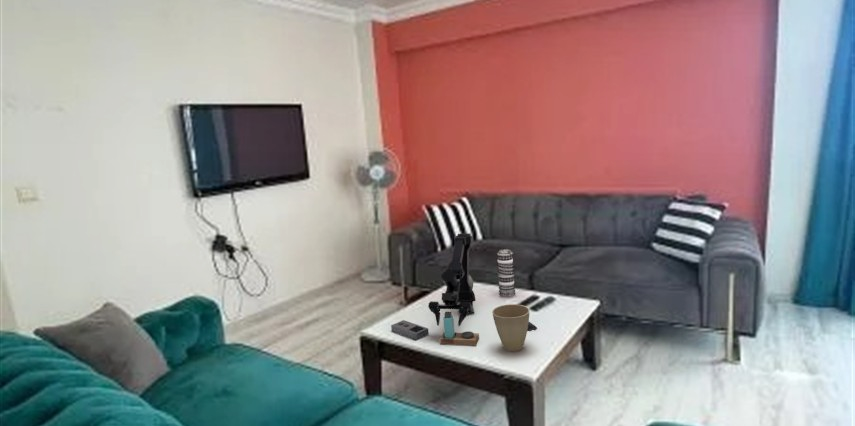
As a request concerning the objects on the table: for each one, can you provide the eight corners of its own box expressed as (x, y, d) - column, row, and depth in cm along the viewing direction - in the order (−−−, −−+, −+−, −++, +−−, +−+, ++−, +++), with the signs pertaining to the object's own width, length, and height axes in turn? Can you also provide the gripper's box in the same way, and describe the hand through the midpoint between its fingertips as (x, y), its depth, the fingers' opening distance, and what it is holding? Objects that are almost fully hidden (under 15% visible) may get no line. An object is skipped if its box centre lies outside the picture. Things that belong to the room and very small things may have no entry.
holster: (444, 337, 223) (443, 329, 223) (479, 338, 219) (478, 330, 218) (440, 344, 217) (439, 336, 216) (476, 346, 212) (475, 337, 212)
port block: (404, 326, 240) (403, 319, 240) (428, 334, 228) (428, 328, 227) (391, 331, 235) (391, 324, 235) (416, 340, 223) (415, 333, 222)
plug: (447, 339, 221) (444, 311, 219) (455, 339, 220) (452, 311, 218) (445, 342, 218) (442, 314, 216) (453, 343, 217) (450, 314, 215)
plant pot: (523, 337, 216) (521, 302, 213) (537, 352, 202) (535, 314, 199) (490, 343, 214) (487, 307, 211) (501, 358, 199) (498, 320, 197)
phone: (521, 331, 221) (506, 319, 235) (522, 333, 221) (507, 321, 235) (538, 327, 223) (522, 316, 237) (538, 330, 223) (522, 318, 238)
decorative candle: (494, 297, 268) (491, 251, 263) (506, 292, 274) (503, 247, 269) (508, 300, 261) (505, 253, 257) (519, 295, 267) (517, 249, 263)
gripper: (427, 283, 222) (422, 317, 213) (469, 284, 216) (465, 318, 208) (434, 295, 231) (429, 327, 222) (474, 295, 225) (471, 329, 216)
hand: (448, 325), depth 217 cm, fingers open, 9 cm apart
